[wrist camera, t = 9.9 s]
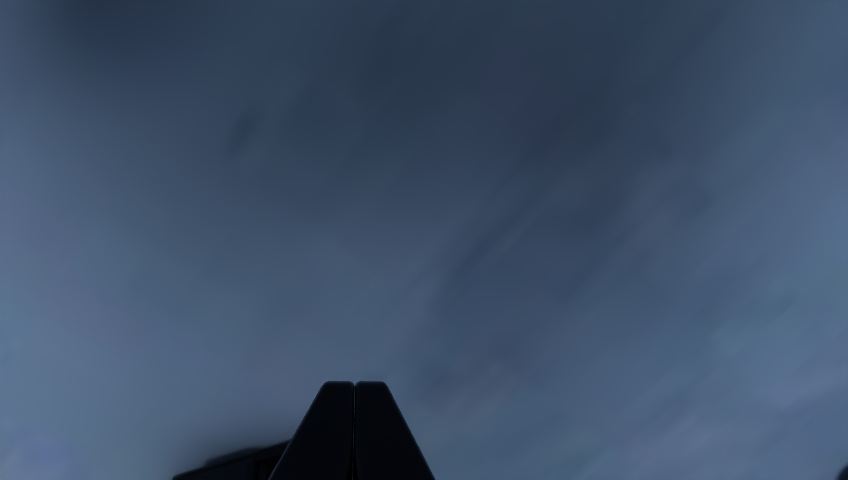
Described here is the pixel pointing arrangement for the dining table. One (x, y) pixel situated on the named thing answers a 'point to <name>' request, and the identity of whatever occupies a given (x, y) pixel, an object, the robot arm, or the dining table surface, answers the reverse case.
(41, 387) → the dining table surface
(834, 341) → the dining table surface
